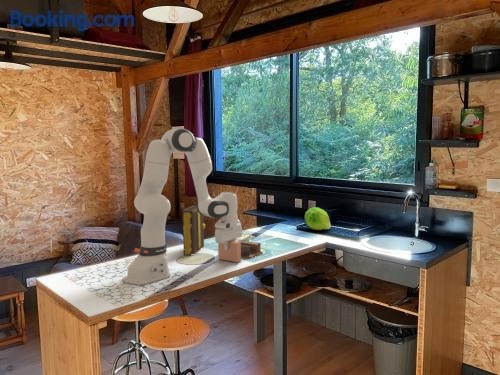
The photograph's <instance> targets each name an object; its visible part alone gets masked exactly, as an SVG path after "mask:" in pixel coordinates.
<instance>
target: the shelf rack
mask: <svg viewBox="0 0 500 375" xmlns="http://www.w3.org/2000/svg"><path fill="white" fill-rule="evenodd" d="M237 241H238V242H241V245H243V246H250V256H246V255H241V258H243V257H244V259H249V258H252V259H254V258H256V257H259V256H261V255H262V253H264V252H263V251H261V250H262V249H261V242H257V241H249V240H241V239H240V240H237ZM260 254H261V255H260ZM255 256H256V257H255ZM253 257H254V258H253Z"/></svg>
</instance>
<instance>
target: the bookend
mask: <svg viewBox="0 0 500 375" xmlns="http://www.w3.org/2000/svg"><path fill="white" fill-rule="evenodd" d="M241 255H246V256H250V246H243V245H241Z"/></svg>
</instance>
